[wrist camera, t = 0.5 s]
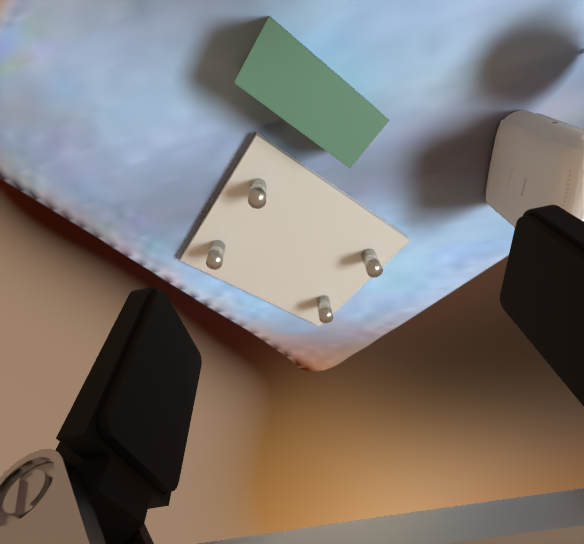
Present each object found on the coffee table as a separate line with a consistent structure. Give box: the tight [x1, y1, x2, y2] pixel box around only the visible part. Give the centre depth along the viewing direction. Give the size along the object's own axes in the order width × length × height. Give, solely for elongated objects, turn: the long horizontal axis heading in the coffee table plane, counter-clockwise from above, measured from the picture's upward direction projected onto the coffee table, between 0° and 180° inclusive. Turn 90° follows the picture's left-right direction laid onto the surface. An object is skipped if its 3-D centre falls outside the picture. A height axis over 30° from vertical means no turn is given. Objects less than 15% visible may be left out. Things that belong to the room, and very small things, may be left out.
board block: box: [234, 16, 389, 168], centre depth 29 cm, size 5×12×6 cm, turn 55°
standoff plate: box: [180, 132, 410, 326], centre depth 40 cm, size 18×22×5 cm
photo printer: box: [486, 110, 584, 227], centre depth 32 cm, size 10×4×12 cm, turn 10°
